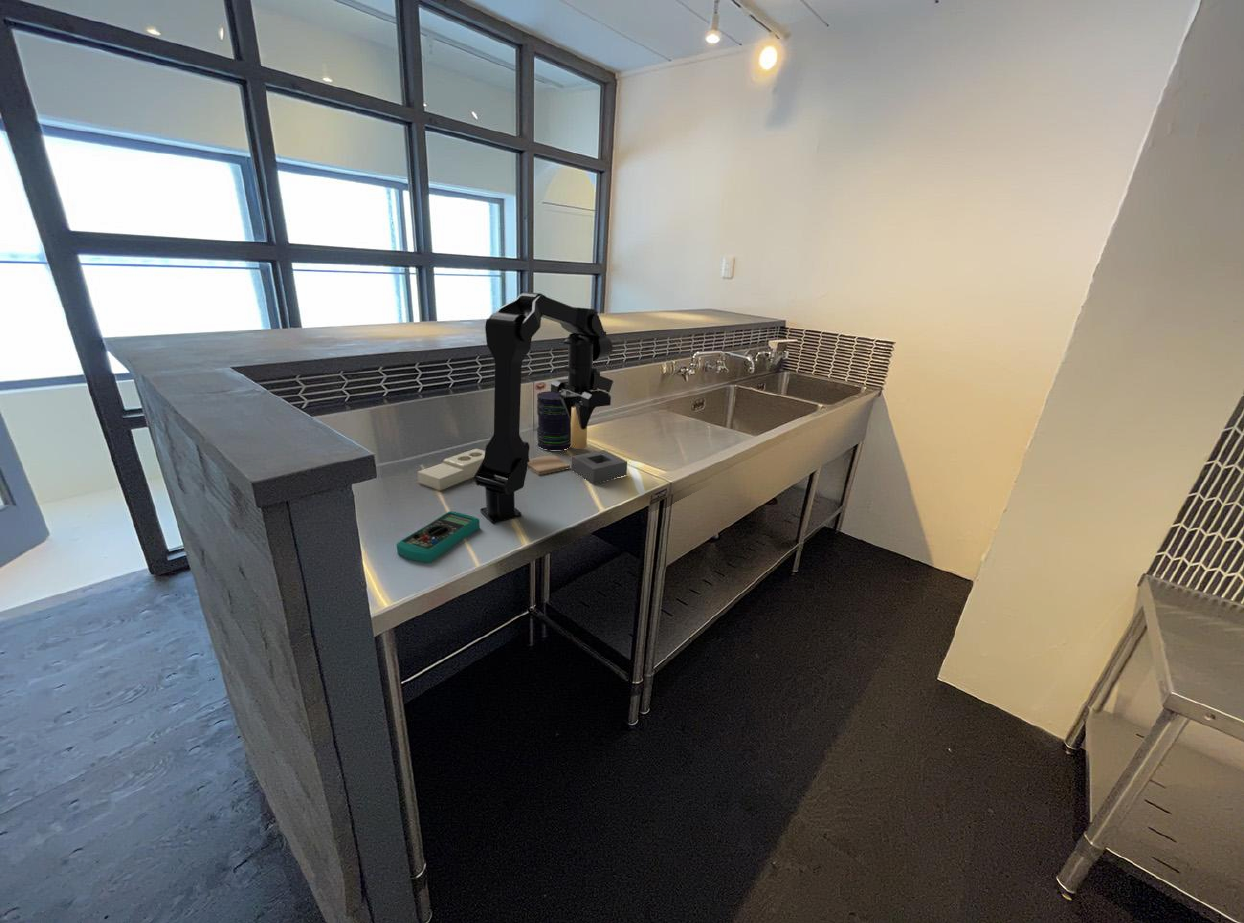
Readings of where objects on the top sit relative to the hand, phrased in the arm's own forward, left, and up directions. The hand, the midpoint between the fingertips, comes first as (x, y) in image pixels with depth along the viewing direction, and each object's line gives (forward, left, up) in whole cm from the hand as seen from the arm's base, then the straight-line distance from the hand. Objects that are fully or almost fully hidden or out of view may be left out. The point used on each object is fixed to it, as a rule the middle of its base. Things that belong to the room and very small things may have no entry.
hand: (578, 426), depth 124 cm
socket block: (-4, -4, -12) cm, 13 cm away
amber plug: (0, 0, -5) cm, 5 cm away
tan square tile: (+7, +5, -12) cm, 15 cm away
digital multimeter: (-16, +40, -12) cm, 45 cm away
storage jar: (+20, -5, -12) cm, 24 cm away
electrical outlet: (+12, +26, -12) cm, 31 cm away
